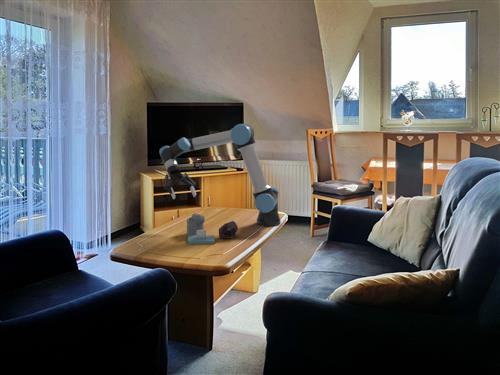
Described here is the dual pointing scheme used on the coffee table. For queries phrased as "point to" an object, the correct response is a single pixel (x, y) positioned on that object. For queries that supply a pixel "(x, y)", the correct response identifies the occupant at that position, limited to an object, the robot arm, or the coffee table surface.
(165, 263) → the coffee table surface
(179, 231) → the coffee table surface
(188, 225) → the elbow
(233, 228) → the rock
